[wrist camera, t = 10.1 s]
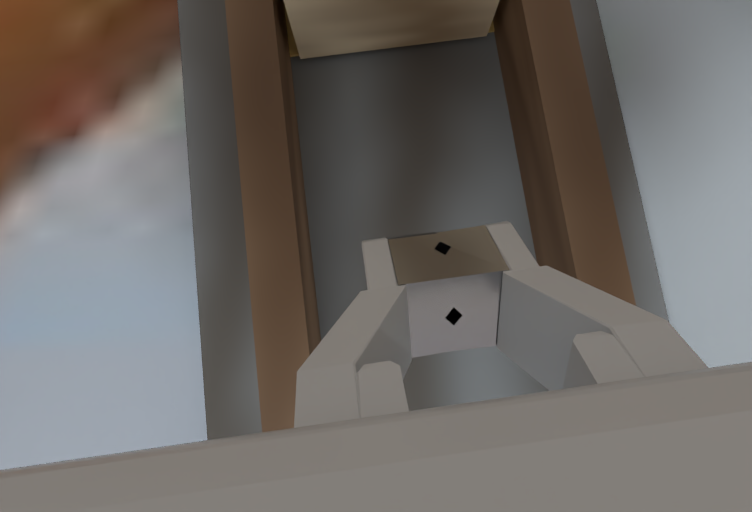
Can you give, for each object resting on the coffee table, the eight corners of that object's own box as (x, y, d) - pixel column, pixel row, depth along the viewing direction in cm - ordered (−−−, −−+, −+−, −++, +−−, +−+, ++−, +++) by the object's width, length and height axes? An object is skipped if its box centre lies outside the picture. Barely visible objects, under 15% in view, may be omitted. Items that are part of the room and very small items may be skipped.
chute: (221, 481, 17) (171, 527, 13) (178, -110, 20) (130, -216, 16) (674, 420, 17) (764, 447, 13) (547, -153, 21) (586, -268, 17)
